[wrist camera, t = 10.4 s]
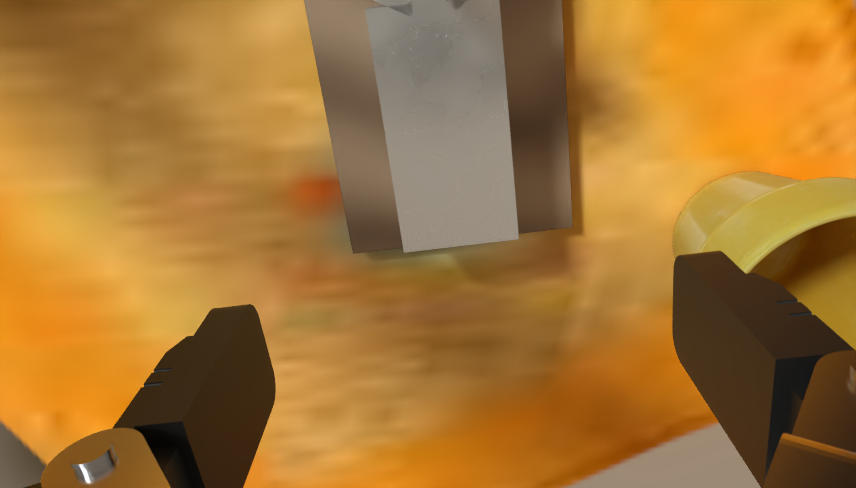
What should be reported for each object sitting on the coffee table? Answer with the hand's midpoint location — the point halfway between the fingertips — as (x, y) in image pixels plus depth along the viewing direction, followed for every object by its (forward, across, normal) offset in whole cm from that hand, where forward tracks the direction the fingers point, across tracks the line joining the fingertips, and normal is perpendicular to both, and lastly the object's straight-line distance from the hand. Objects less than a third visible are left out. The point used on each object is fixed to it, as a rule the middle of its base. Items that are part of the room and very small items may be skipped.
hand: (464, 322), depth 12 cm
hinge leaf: (+19, 0, -3) cm, 19 cm away
